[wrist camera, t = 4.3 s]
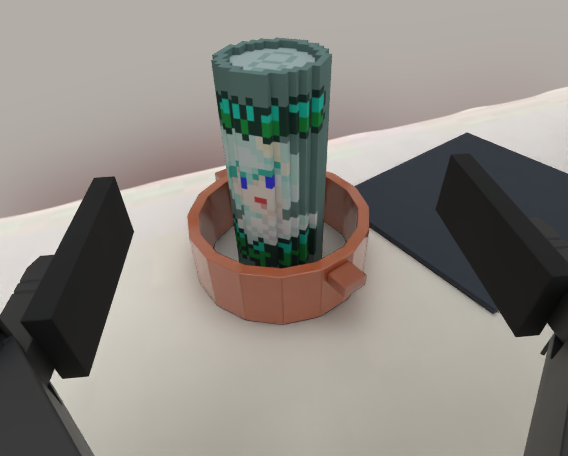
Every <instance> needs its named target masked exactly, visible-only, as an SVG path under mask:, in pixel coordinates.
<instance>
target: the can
mask: <svg viewBox="0 0 568 456" xmlns="http://www.w3.org/2000/svg"><path fill="white" fill-rule="evenodd" d="M212 56H213V60H212V68H213V76H214V83H215V90H216V97H217V105H218V112H219V118H220V126H221V133H222V140H223V148H224V154H225V162H226V169H227V176H228V184H229V191H230V198H231V205H232V212H233V220H234V227H235V234H236V241H237V248H238V255H239V262H240V263H242V264H244V265H251V266H261V267H271V268H281V269H282V268H287V267H292V266H297V265H303V264H308V263H313V262H317V261H319V260H320V259H321V258H322V242H323V222H324V202H325V182H326V162H327V142H328V121H329V102H330V81H331V62H332V54H329V49H326V48H324V46H319V43H308V40H297V39H285V38H275V39H259V40H250V41H249V42H246V41H242V42H240V43H239V44H237V45H228V46H226V47H225V48H223V49H221V50H220V51H218V52H216V53H215V54H213V55H212Z"/></svg>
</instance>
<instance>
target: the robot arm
mask: <svg viewBox="0 0 568 456" xmlns="http://www.w3.org/2000/svg"><path fill="white" fill-rule="evenodd" d="M435 210H436V211H437V213H438V215H439V216H440V218H441V219H442V221H443V222H444V224H445V226H446V227H447V229H448V230H449V232H450V234H451V235H452V237H453V238H454V240H455V242H456V243H457V245H458V246H459V248H460V249H461V251H462V253H463V254H464V256H465V257H466V259H467V261H468V262H469V264H470V265H471V267H472V269H473V270H474V272H475V273H476V275H477V276H478V278H479V280H480V281H481V283H482V284H483V286H484V288H485V289H486V291H487V292H488V294H489V296H490V297H491V299H492V300H493V302H494V303H495V305H496V307H497V308H498V310H499V311H500V313H501V315H502V316H503V318H504V319H505V321H506V323H507V324H508V326H509V327H510V329H511V330H512V332H513V334H514V335H515V337H523V336H534V335H540V333H541V332H542V330H543V328H544V327H545V325H546V324H547V323H548V324H549V326H550V327H551V329H552V330H553V331H554V334H553V336H552V337H551V338H550V340H549V341H548V343H547V344H546V345H545V347H544V348H543V350H542V351H541V353H540V354H542V355H545V353H546V352H547V355H546V359H545V363H544V368H543V372H542V377H541V381H540V385H539V390H538V394H537V399H536V403H535V407H534V412H533V416H532V421H531V425H530V429H529V434H528V438H527V443H526V447H525V451H524V456H568V244H567V242H566V241H565V240H564V239H561V236H560V235H559V234H558V233H557V232H556V231H555V230H554V229H553V228H552V227H551V226H550V225H548V224H546V223H545V222H543V221H542V220H540V219H538V218H528V217H527V216H526V215H525V214H524V213H523V212H522V211H521V210H520V208H519V207H518V206H517V205H516V204H515V203H514V202H513V201H512V200H511V199H510V197H509V196H508V195H507V194H506V193H505V192H504V191H503V190H502V189H501V187H500V186H499V185H498V184H497V183H496V182H495V181H494V180H493V179H492V177H491V176H490V175H489V174H488V173H487V172H486V171H485V170H484V169H483V167H482V166H481V165H480V164H479V163H478V162H477V161H476V160H475V159H474V157H473V156H472V155H471V154H470V153H464V154H451V156H450V159H449V163H448V166H447V170H446V173H445V177H444V180H443V184H442V188H441V191H440V195H439V198H438V202H437V205H436V209H435ZM133 233H134V230H133V227H132V225H131V222H130V219H129V216H128V213H127V210H126V208H125V205H124V202H123V199H122V196H121V193H120V191H119V188H118V185H117V182H116V179H115V177H100V178H94V179H93V181H92V183H91V185H90V187H89V189H88V191H87V192H86V195H85V196H84V198H83V200H82V202H81V204H80V206H79V208H78V210H77V212H76V214H75V216H74V218H73V220H72V222H71V224H70V226H69V227H68V229H67V231H66V233H65V235H64V237H63V239H62V241H61V243H60V245H59V247H58V249H57V251H56V253H55V255H47V256H40V257H39V258H37V259H36V260H35V261H34V262H33V263H32V264H31V265H30V266H29V267H28V268H27V269H26V271H25V273H24V274H23V276H22V278H21V280H20V283H18V285H17V287H16V288H15V290H14V294H12V295H11V297H10V299H9V301H8V302H7V304H6V306H5V308H4V309H3V311H2V313H1V315H0V456H94V454H93V452H92V451H91V449H90V447H89V446H88V444H87V442H86V441H85V439H84V437H83V435H82V434H81V432H80V430H79V429H78V427H77V425H76V424H75V422H74V420H73V419H72V417H71V415H70V413H69V412H68V410H67V408H66V407H65V405H64V403H63V402H62V400H61V398H60V397H59V395H58V393H57V391H56V390H55V388H54V386H53V385H52V384H51V382H50V379H51V376H52V374H53V371H54V369H55V370H56V371H57V372H58V374H59V375H60V376H61V378H62V379H65V378H76V377H87V376H89V374H90V371H91V368H92V364H93V361H94V358H95V355H96V352H97V348H98V345H99V342H100V339H101V336H102V332H103V329H104V326H105V323H106V320H107V316H108V313H109V310H110V307H111V304H112V300H113V297H114V294H115V291H116V288H117V284H118V281H119V278H120V275H121V272H122V268H123V265H124V262H125V259H126V256H127V252H128V249H129V246H130V243H131V240H132V236H133Z"/></svg>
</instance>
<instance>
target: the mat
mask: <svg viewBox="0 0 568 456" xmlns="http://www.w3.org/2000/svg"><path fill="white" fill-rule="evenodd" d="M464 153H470V154H471V155H472V156H473V157H474V159H475V160H476V161H477V162H478V163H479V164H480V165H481V166H482V167H483V169H484V170H485V171H486V172H487V173H488V174H489V175H490V176H491V177H492V179H493V180H494V181H495V182H496V183H497V184H498V185H499V186H500V187H501V189H502V190H503V191H504V192H505V193H506V194H507V195H508V196H509V197H510V199H511V200H512V201H513V202H514V203H515V204H516V205H517V206H518V207H519V208H520V210H521V211H522V212H523V213H524V214H525V215H526V216H527V217H528V218H538V219H540V220H542V221H543V222H545V223H546V224H548V225H550V226H551V227H552V228H553V229H554V230H555V231H556V232H557V233H558V234H559V235H560V236H561V239H564V240H565V241H566V242H567V244H568V174H567V173H565V172H562V171H560V170H557V169H555V168H552V167H550V166H548V165H545V164H543V163H540V162H538V161H535V160H533V159H530V158H528V157H526V156H523V155H521V154H518V153H516V152H513V151H511V150H509V149H506V148H504V147H501V146H499V145H496V144H494V143H491V142H489V141H487V140H484V139H482V138H479V137H477V136H474V135H472V134H469V133H465V134H463V135H461V136H459V137H457V138H455V139H452V140H450V141H448V142H446V143H444V144H442V145H440V146H438V147H436V148H434V149H432V150H429V151H427V152H425V153H423V154H421V155H419V156H417V157H415V158H413V159H411V160H408V161H406V162H404V163H402V164H400V165H398V166H396V167H394V168H392V169H390V170H388V171H385V172H383V173H381V174H379V175H377V176H375V177H373V178H371V179H369V180H367V181H364V182H362V183H360V184H358V185H356V186H354V187H355V188H357V190H358V191H359V193H360V194H361V196H362V197H363V199H364V200H365V202H366V203H367V205H368V206H369V226H370V227H371V228H372V229H374V230H375V231H377V232H378V233H380V234H381V235H382V236H384V237H385V238H387V239H388V240H389V241H391V242H392V243H394V244H395V245H397V246H398V247H399V248H401V249H402V250H404V251H405V252H407V253H408V254H409V255H411V256H412V257H414V258H415V259H416V260H418V261H419V262H421V263H422V264H424V265H425V266H426V267H428V268H429V269H431V270H432V271H434V272H435V273H436V274H438V275H439V276H441V277H442V278H443V279H445V280H446V281H448V282H449V283H451V284H452V285H453V286H455V287H456V288H458V289H459V290H460V291H462V292H463V293H465V294H466V295H468V296H469V297H470V298H472V299H473V300H475V301H476V302H478V303H479V304H480V305H482V306H483V307H485V308H486V309H487V310H489V311H490V312H492V313H495V312H496V311H497V310H498V308H497V307H496V305H495V303H494V302H493V300H492V299H491V297H490V296H489V294H488V292H487V291H486V289H485V288H484V286H483V284H482V283H481V281H480V280H479V278H478V276H477V275H476V273H475V272H474V270H473V269H472V267H471V265H470V264H469V262H468V261H467V259H466V257H465V256H464V254H463V253H462V251H461V249H460V248H459V246H458V245H457V243H456V242H455V240H454V238H453V237H452V235H451V234H450V232H449V230H448V229H447V227H446V226H445V224H444V222H443V221H442V219H441V218H440V216H439V215H438V213H437V211H436V210H435V209H436V205H437V202H438V198H439V195H440V191H441V188H442V184H443V180H444V177H445V173H446V170H447V166H448V163H449V159H450V156H451V154H464Z"/></svg>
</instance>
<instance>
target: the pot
mask: <svg viewBox="0 0 568 456" xmlns="http://www.w3.org/2000/svg"><path fill="white" fill-rule="evenodd" d="M215 177H216V181H215V182H214V183H213V184H212V185H210V186H209V187H208V188H206V189H205V190H204V191H202V192H201V193H200V194H199V195H198V197H197V199H196V201H195V202H194V204H193V206H192V208H191V210H190V211H189V213H188V216H187V217H188V229H189V239H190V243H191V247H192V251H193V255H194V260H195V264H196V268H197V272H198V276H199V280H200V284H201V285H202V286H203V288H204V289H205V290H206V291H207V293H208V294H209V295H210V297H211V298H212V299H213V301H214V302H215V303H216V304H217V305H218V306H220V307H222V308H224V309H226V310H227V311H229V312H231V313H233V314H235V315H237V316H239V317H241V318H243V319H245V320H249V321H257V322H266V323H275V324H288V323H292V322H297V321H301V320H306V319H311V318H315V317H319V316H322V315H323V314H325V313H326V312H328V311H329V310H331V309H333V308H334V307H336V306H337V305H339V304H340V303H342V302H344V301H345V300H347V299H348V298H349V296H350V295H351V293H353V292H354V291H356V290H357V289H359V288H361V287H362V286H364V285H365V283H366V274H365V273H363V268H364V261H365V254H366V247H367V241H368V234H369V206H368V205H367V203H366V202H365V200H364V199H363V197H362V196H361V194H360V193H359V191H358V190H357V188H355V187H354V186H353V185H351V184H349V183H348V182H346V181H345V180H343V179H342V178H340V177H339V176H337V175H335V174H333V173H330V172H327V171H326V182H325V202H324V221H325V222H327V223H328V224H329V225H331V226H332V227H333V228H335V229H336V230H337V231H338V232H340V233H341V234H342V235H343V236H344V238H345V240H346V244H345V245H344V246H343V247H342V248H340V249H338V250H337V251H335V252H333V253H331V254H329V255H328V256H326V257H324V258H322V259H320V260H319V261H317V262H313V263H308V264H303V265H297V266H292V267H287V268H282V269H281V268H271V267H261V266H251V265H244V264H242V263H240V262H237V261H235V260H233V259H231V258H228V257H226V256H224V255H222V254H219V253H217V252H216V251H215V250H214V249H213V247H214V244H215V242H216V240H217V239H219V238H220V237H221V236H222V235H223V234H224V233H225V232H226V231H227V230H228V229H229V228H231V227H232V226H233V225H234V220H233V212H232V205H231V198H230V191H229V184H228V176H227V169H224V170H222V171H219V172H216V173H215Z"/></svg>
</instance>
